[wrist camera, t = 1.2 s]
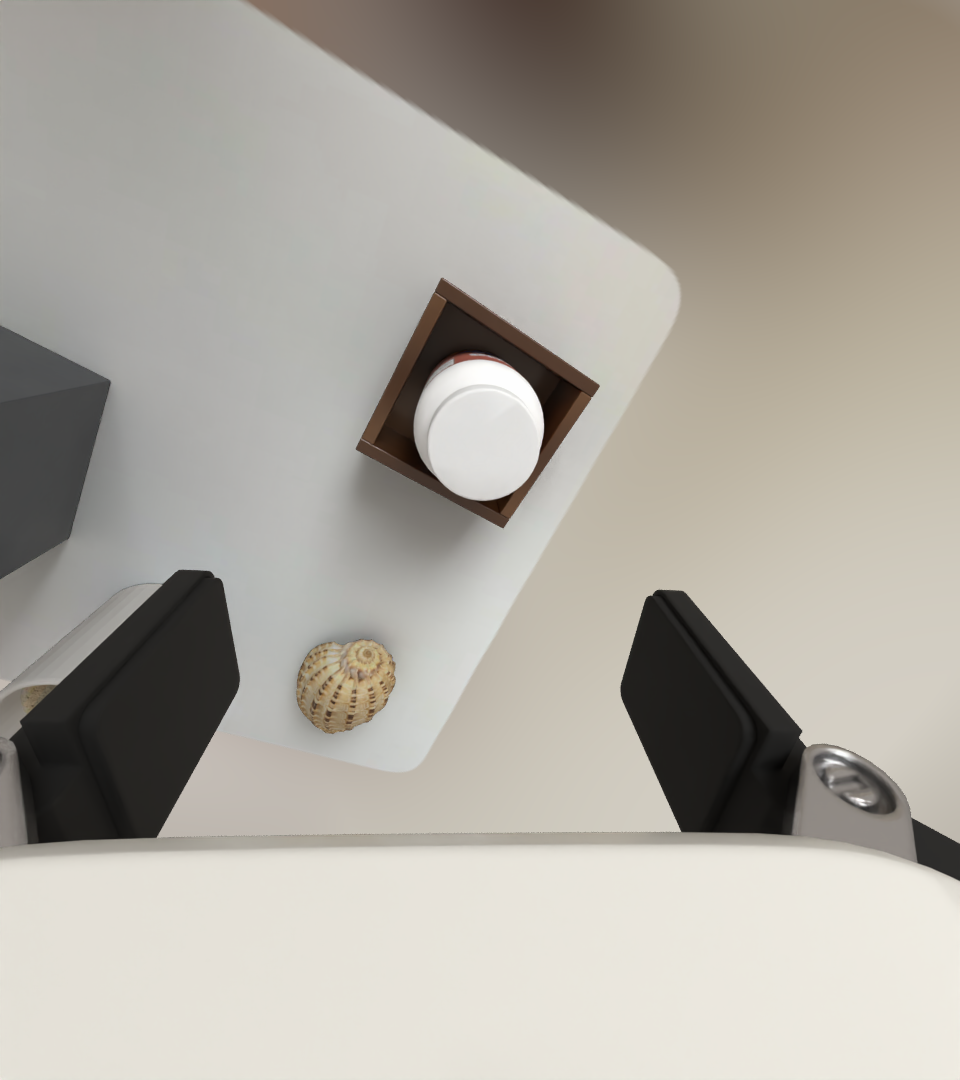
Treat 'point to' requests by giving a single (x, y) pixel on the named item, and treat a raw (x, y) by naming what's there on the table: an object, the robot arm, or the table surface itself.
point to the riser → (42, 445)
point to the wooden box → (458, 328)
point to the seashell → (344, 684)
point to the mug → (66, 656)
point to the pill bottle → (478, 425)
